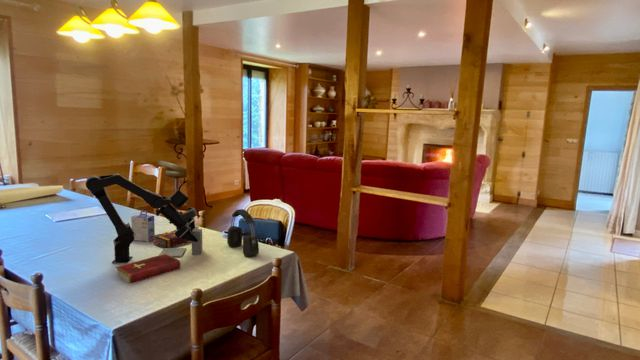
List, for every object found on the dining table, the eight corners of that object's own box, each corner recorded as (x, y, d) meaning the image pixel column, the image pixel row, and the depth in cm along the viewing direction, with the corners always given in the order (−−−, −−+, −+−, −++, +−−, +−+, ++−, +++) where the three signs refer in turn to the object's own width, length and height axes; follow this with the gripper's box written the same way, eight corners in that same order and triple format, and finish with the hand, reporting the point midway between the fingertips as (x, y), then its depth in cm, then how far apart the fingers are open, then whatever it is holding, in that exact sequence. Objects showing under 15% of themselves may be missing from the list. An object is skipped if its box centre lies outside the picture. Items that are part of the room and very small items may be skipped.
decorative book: (193, 241, 196) (193, 232, 195) (164, 250, 184) (163, 239, 183) (180, 237, 203) (179, 227, 202) (150, 244, 190) (150, 234, 189)
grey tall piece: (200, 254, 178) (200, 227, 176) (191, 254, 178) (191, 227, 176) (202, 251, 183) (202, 224, 180) (193, 251, 182) (193, 224, 180)
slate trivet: (181, 257, 174) (181, 255, 174) (158, 257, 173) (158, 255, 173) (186, 249, 184) (186, 247, 184) (164, 249, 183) (164, 248, 183)
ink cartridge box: (155, 238, 198) (154, 211, 196) (149, 241, 193) (147, 213, 191) (138, 236, 200) (137, 209, 198) (131, 240, 195) (130, 212, 193)
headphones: (260, 256, 179) (260, 214, 176) (248, 259, 175) (248, 216, 172) (237, 243, 196) (237, 204, 193) (225, 245, 192) (225, 205, 189)
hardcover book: (180, 269, 162) (180, 260, 161) (129, 285, 146) (129, 274, 145) (166, 262, 170) (166, 252, 169) (116, 276, 154) (115, 266, 153)
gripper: (181, 207, 166) (209, 232, 170) (189, 198, 184) (213, 220, 188) (163, 226, 166) (190, 249, 170) (172, 214, 185) (197, 236, 188)
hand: (198, 238), depth 179 cm, fingers open, 9 cm apart
